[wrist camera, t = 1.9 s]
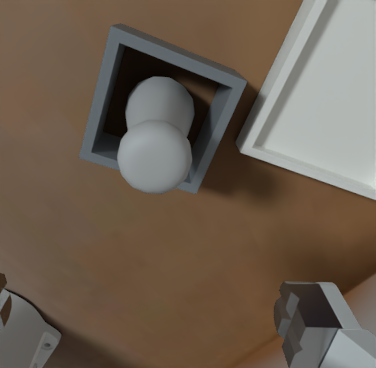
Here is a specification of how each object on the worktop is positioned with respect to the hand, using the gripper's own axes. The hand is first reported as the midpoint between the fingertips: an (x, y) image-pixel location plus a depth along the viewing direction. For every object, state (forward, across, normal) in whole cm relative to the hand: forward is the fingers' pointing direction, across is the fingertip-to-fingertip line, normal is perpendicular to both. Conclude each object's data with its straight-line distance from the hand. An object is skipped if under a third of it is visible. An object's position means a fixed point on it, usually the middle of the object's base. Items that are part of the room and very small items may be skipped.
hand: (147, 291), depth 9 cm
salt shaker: (+22, 0, 0) cm, 22 cm away
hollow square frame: (+22, 0, 0) cm, 22 cm away
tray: (+22, -17, -2) cm, 28 cm away
